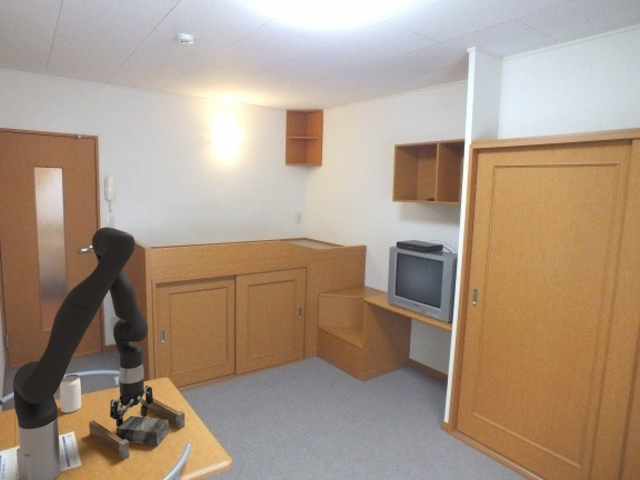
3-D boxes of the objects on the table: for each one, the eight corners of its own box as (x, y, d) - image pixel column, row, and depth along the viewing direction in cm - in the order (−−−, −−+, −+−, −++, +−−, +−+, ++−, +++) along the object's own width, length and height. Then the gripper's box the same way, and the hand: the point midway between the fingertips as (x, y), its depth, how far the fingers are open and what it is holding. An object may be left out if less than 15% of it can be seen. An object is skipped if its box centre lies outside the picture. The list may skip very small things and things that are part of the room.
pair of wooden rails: (123, 459, 127) (122, 444, 127) (88, 435, 138) (88, 421, 138) (184, 426, 146) (184, 412, 145) (150, 407, 157) (149, 394, 156)
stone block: (132, 426, 145) (132, 412, 144) (171, 431, 143) (171, 417, 142) (116, 441, 136) (115, 426, 135) (157, 447, 134) (157, 432, 133)
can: (56, 411, 152) (55, 380, 150) (71, 402, 158) (70, 372, 156) (70, 415, 150) (69, 383, 148) (85, 406, 156) (84, 375, 154)
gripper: (117, 388, 133) (118, 435, 135) (157, 372, 145) (157, 416, 147) (104, 381, 137) (106, 427, 140) (144, 366, 149) (144, 409, 151)
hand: (132, 421), depth 143 cm, fingers open, 8 cm apart
